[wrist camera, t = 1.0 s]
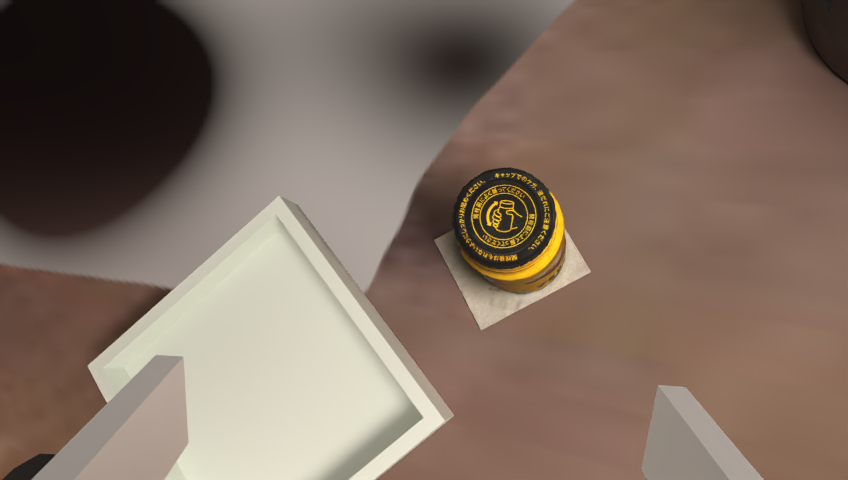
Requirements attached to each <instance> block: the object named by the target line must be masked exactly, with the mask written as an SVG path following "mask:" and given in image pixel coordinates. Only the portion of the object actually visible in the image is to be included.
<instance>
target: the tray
mask: <svg viewBox="0 0 848 480" xmlns="http://www.w3.org/2000/svg"><path fill="white" fill-rule="evenodd" d="M155 355H166V356H182V357H184V372H185V390H186V407H187V425H188V442H189V443H188V445H187V446H186V448H185V449H184V451H183V452H182V454H181V455H180V457H179V458H178V460H177V461H176V463H175V464H174V466H173V467H172V469H171V470H170V472H169V473H168V475H167V476H166V478H165V479H164V480H376V479H378V478H379V477H380V476H381V475H382V474H384V473H385V472H386V471H387V470H389V469H390V468H391V467H392V466H393V465H395V464H396V463H397V462H398V461H399V460H401V459H402V458H403V457H404V456H406V455H407V454H408V453H409V452H410V451H412V450H413V449H414V448H415V447H417V446H418V445H419V444H420V443H421V442H423V441H424V440H425V439H426V438H428V437H429V436H430V435H431V434H432V433H434V432H435V431H436V430H437V429H438V428H440V427H441V426H442V425H443V424H445V423H446V422H447V421H448V420H449V419H451V418H452V417H453V416H454V414H453V413H452V411H451V410H450V409H449V407H448V406H447V405H446V403H445V402H444V401H443V399H442V398H441V397H440V395H439V394H438V393H437V391H436V390H435V389H434V387H433V386H432V385H431V383H430V382H429V381H428V379H427V378H426V377H425V375H424V374H423V373H422V371H421V370H420V368H419V367H418V366H417V364H416V363H415V362H414V360H413V359H412V358H411V356H410V355H409V354H408V352H407V351H406V350H405V348H404V347H403V346H402V344H401V343H400V342H399V340H398V339H397V338H396V336H395V335H394V334H393V332H392V331H391V330H390V328H389V327H388V326H387V324H386V323H385V321H384V320H383V319H382V317H381V316H380V315H379V313H378V312H377V311H376V309H375V308H374V307H373V305H372V304H371V303H370V301H369V300H368V299H367V297H366V296H365V295H364V293H363V292H362V291H361V289H360V288H359V287H358V285H357V284H356V283H355V281H354V280H353V279H352V277H351V276H350V274H349V273H348V272H347V270H346V269H345V268H344V266H343V265H342V264H341V262H340V261H339V260H338V258H337V257H336V256H335V255H334V253H333V252H332V250H331V249H330V248H329V246H328V245H327V244H326V242H325V241H324V240H323V238H322V237H321V236H320V234H319V233H318V231H317V230H316V229H315V227H314V226H313V225H312V224H311V222H310V221H309V219H308V218H307V217H306V215H305V214H304V213H303V211H302V210H301V209H300V207H299V206H298V205H297V204H295V203H293V202H291V201H289V200H287V199H285V198H283V197H281V196H278V197H277V198H276V199H275V200H273V201H272V202H271V203H270V204H269V205H268V206H267V207H266V208H264V209H263V210H262V211H261V212H260V213H259V214H258V215H257V216H255V217H254V218H253V219H252V220H251V221H250V222H249V223H248V224H246V225H245V226H244V227H243V228H242V229H241V230H240V231H239V232H237V233H236V234H235V235H234V236H233V237H232V238H231V239H230V240H228V241H227V242H226V243H225V244H224V245H223V246H222V247H221V248H219V249H218V250H217V251H216V252H215V253H214V254H213V255H212V256H210V257H209V258H208V259H207V260H206V261H205V262H204V263H203V264H201V265H200V266H199V267H198V268H197V269H196V270H195V271H194V272H193V273H191V274H190V275H189V276H188V277H187V278H186V279H185V280H184V281H182V282H181V283H180V284H179V285H178V286H177V287H176V288H174V289H173V290H172V291H171V292H170V293H169V294H168V295H167V296H165V297H164V298H163V299H162V300H161V301H160V302H159V303H158V304H156V305H155V306H154V307H153V308H152V309H151V310H150V311H149V312H147V313H146V314H145V315H144V316H143V317H142V318H141V319H140V320H138V321H137V322H136V323H135V324H134V325H133V326H132V327H131V328H129V329H128V330H127V331H126V332H125V333H124V334H123V335H122V336H120V337H119V338H118V339H117V340H116V341H115V342H114V343H113V344H112V345H110V346H109V347H108V348H107V349H106V350H105V351H104V352H103V353H101V354H100V355H99V356H98V357H97V358H96V359H95V360H94V361H92V362H91V363H90V364H89V365H88V368H89V370H90V372H91V374H92V376H93V378H94V379H95V381H96V383H97V385H98V387H99V389H100V391H101V393H102V395H103V396H104V398H105V400H106V402H107V403H108V402H109V401H110V400H111V399H112V398H113V397H114V396H115V395H116V394H117V393H118V392H119V391H120V390H121V389H122V388H123V387H124V386H125V385H126V384H127V383H128V382H129V381H130V380H131V379H132V378H133V377H134V376H135V375H136V374H137V373H138V372H139V371H140V370H141V369H142V368H143V367H144V366H145V365H146V364H147V363H148V362H149V361H150V360H151V359H152V358H153V357H154V356H155Z"/></svg>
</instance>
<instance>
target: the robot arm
mask: <svg viewBox="0 0 848 480" xmlns="http://www.w3.org/2000/svg"><path fill="white" fill-rule="evenodd" d="M802 8H803V17H804V22H805V26H806V29H807V32H808V34H809V37H810V39H811V41H812V43H813V45H814V47H815V48H816V50H817V52H818V53H819V55H820V56H821V57H822V59H823V60H824V61H825V62H826V63H827V64H828V66H829V67H830V68H831V69H832V70H833V71H834V72H836V73H837V74H838V75H839V76H840V77H841V78H843V79H844V80H846V81H847V82H848V0H802ZM188 443H189V442H188V425H187V407H186V390H185V372H184V357H182V356H166V355H155V356H154V357H153V358H152V359H151V360H150V361H149V362H148V363H147V364H146V365H145V366H144V367H143V368H142V369H141V370H140V371H139V372H138V373H137V374H136V375H135V376H134V377H133V378H132V379H131V380H130V381H129V382H128V383H127V384H126V385H125V386H124V387H123V388H122V389H121V390H120V391H119V392H118V393H117V394H116V395H115V396H114V397H113V398H112V399H111V400H110V401H109V402H108V403H107V404H106V405H105V406H104V407H103V408H102V409H101V410H100V411H99V412H98V413H97V414H96V415H95V416H94V417H93V418H92V419H91V420H90V421H89V422H88V423H87V424H86V425H85V426H84V427H83V428H82V429H81V430H80V431H79V432H78V433H77V434H76V435H75V436H74V437H73V438H72V439H71V440H70V441H69V442H68V443H67V444H66V445H65V446H64V447H63V448H62V449H61V450H60V451H59V452H58V453H57V454H56V455H53V454H39V455H37V456H35V457H33V458H32V459H30V460H28V461H26V462H25V463H23V464H21V465H19V466H18V467H16V468H14V469H13V470H12V471H11V472H10V473H9V474H8V475H7V476H6V477H5V478H4V479H2V480H164V479H165V478H166V476H167V475H168V473H169V472H170V470H171V469H172V467H173V466H174V464H175V463H176V461H177V460H178V458H179V457H180V455H181V454H182V452H183V451H184V449H185V448H186V446H187V445H188ZM641 470H642V472H643V474H644V476H645V477H646V479H647V480H763V478H762V477H761V476H760V475H759V474H758V473H757V471H756V470H755V469H754V468H753V467H752V465H751V464H750V463H749V462H748V461H747V459H746V458H745V457H744V456H743V455H742V454H741V452H740V451H739V450H738V449H737V448H736V446H735V445H734V444H733V443H732V442H731V441H730V439H729V438H728V437H727V436H726V435H725V433H724V432H723V431H722V430H721V429H720V427H719V426H718V425H717V424H716V423H715V422H714V420H713V419H712V418H711V417H710V416H709V414H708V413H707V412H706V411H705V410H704V408H703V407H702V406H701V405H700V404H699V403H698V401H697V400H696V399H695V398H694V397H693V395H692V394H691V393H690V392H689V391H688V389H687V388H686V387H679V386H662V385H658V387H657V392H656V397H655V403H654V408H653V413H652V418H651V423H650V428H649V433H648V438H647V443H646V448H645V453H644V459H643V464H642V469H641Z"/></svg>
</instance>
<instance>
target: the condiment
mask: <svg viewBox="0 0 848 480" xmlns="http://www.w3.org/2000/svg"><path fill="white" fill-rule="evenodd" d="M452 215H453V217H452V218H453V223H452V224H453V228H454V229H453V230H451V231H450V232H448V233H446V234H444V235H442V236H441V237H439V238H437V239H435V240H434V241H435V243H436V245H437V247H438V249H439V250H440V252H441V254H442V256H443V258H444V260H445V262H446V264H447V266H448V267H449V270H450V272H451V273H452V275H453V277H454V279H455V281H456V283H457V285H458V287H459V289H460V290H461V291H462V294H463V296H464V298H465V300H466V302H467V304H468V306H469V308H470V310H471V312H472V313H473V315H474V318H475V319H476V321H477V323H478V325H479V327H480V329H481V330H483V329H484V328H486V327H488V326H490V325H492V324H494V323H496V322H498V321H500V320H501V319H503V318H505V317H507V316H509V315H511V314H512V313H514V312H516V311H518V310H520V309H522V308H524V307H526V306H528V305H530V304H532V303H533V302H535V301H537V300H539V299H541V298H543V297H545V296H547V295H549V294H550V293H552V292H554V291H556V290H558V289H560V288H562V287H564V286H566V285H567V284H569V283H571V282H573V281H575V280H577V279H579V278H581V277H582V276H584V275H586V274H588V273H590V272H591V271H590V269H589V268H588V266H587V264H586V263H585V261H584V259H583V258H582V256H581V254H580V253H579V251H578V249H577V248H576V246H575V244H574V243H573V241H572V239H571V238H570V236H569V234H568V233H567V231H566V229H565V226H564V215H563V214H562V212H561V208H560V206H559V204H558V201H557V199H556V198H555V197H554V195H553V194H552V193H551V192H550V191H549V190H548V189H547V188H546V187H545V185H544V184H543V183H542V182H541V181H540V180H539V179H537V178H535V177H534V176H533V175H531V174H529V173H526V172H525V171H522V170H519V169H514V168H499V169H493V170H488V171H485V172H483V173H481V174H480V175H478V176H477V177H475V178H474V179H472V180H471V181H470V182H469V183H468V184H467V185H466V186H464V187H463V189H462V191H461V192H460V194H459V196H458V198H457V202H456V203H455V205H454V212H453V213H452ZM489 288H494V289H497V288H498V289H499V290H500V292H498V291H496V290H494V291H491V290H489Z"/></svg>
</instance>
